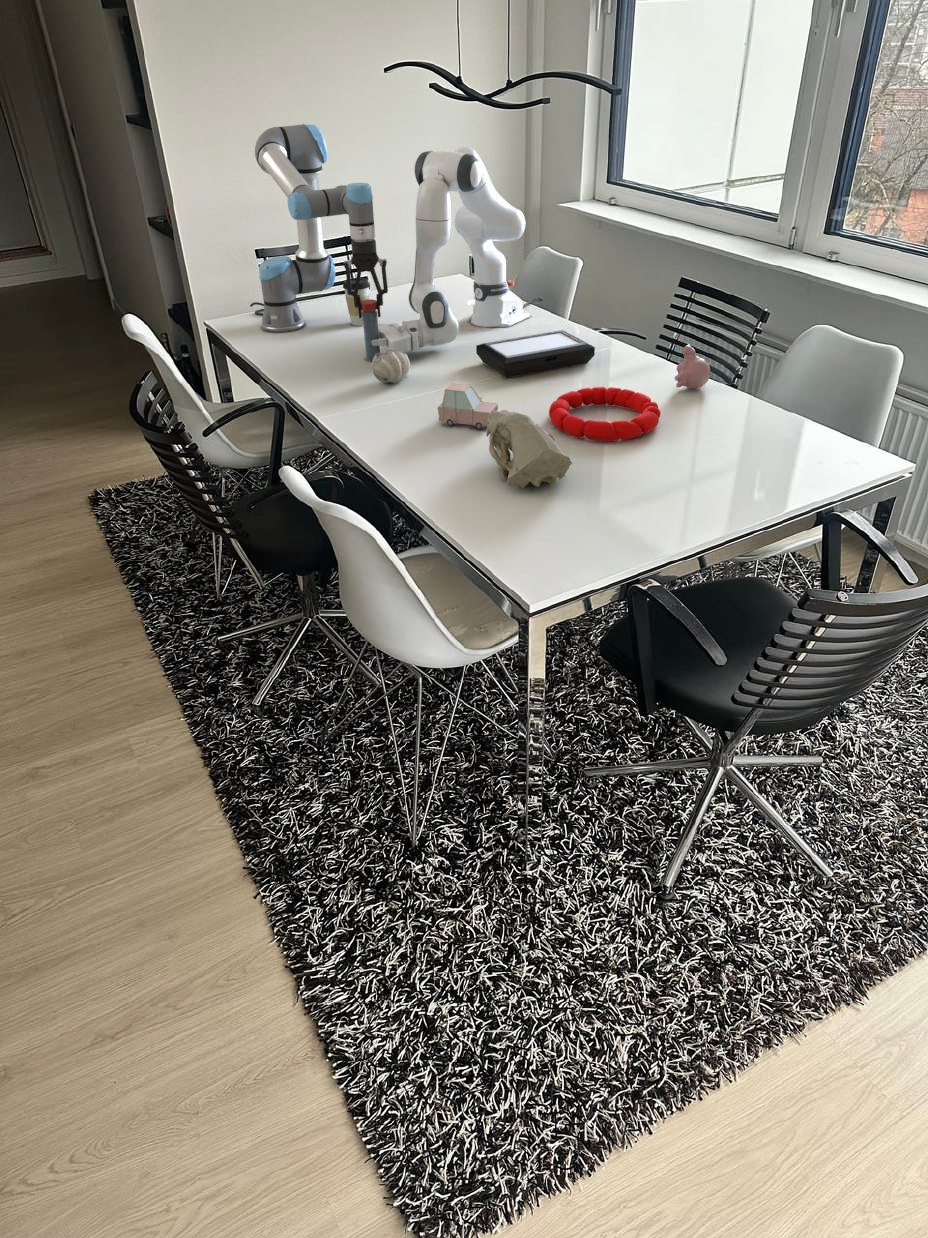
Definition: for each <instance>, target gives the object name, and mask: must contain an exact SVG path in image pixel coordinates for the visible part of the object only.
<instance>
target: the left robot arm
mask: <svg viewBox="0 0 928 1238" xmlns="http://www.w3.org/2000/svg"><path fill="white" fill-rule="evenodd" d="M328 156H329V155H328V147H327V143H326V140H325V137H324V134H323V132H322V130H321V129H320V128H319V127H318V126H317V125H316V124H304V123H302V124H295V125H285V126H272V127H270V128H268V129H266V130H264V131H263V132H261V134H260V135H259V136H258V138H257V140H256V143H255V146H254V158H255V160H256V163H257V164H258V166H259V167H260V169H261V170H262V171H263V172H264V173H266V174H268V175H270V176H271V178H272V180H274V182H275V183H276V185H277V186H278V187H279V188H280V190H281V191H282V193H283V194H284V195H285V196H286V197H287V208H288V212H289V214H290V217H291V218H292V219H293V220H296V227H297V239H298V248H297V250H296V251H295V254H294V255H295V259H292V258H291V257H290V256H288V255H281V256H275V257H271V258H268V259H265V260H263V261H262V262H261V263H260V265H259V266H258V270H259V271H258V273H259V280H260V287H261V292H262V299H263V302H257V301H255V302H252V303H250V305H249V307H250V308H251V307H253V306H256V305H257V306H262V307H263V308H260V309H256V310H255V311H254V315H255V316H262V319H261V326H262V330H264V331H265V332H271V333H286V332H293V331H296V330H297V331H298V330H300V329H302V328H304V326H305V319H304V317H303V314H302V312H301V310H300V307H299V306H298V305H299V304H298V303H297V295H303V294H310V293H316V292H323V291H327V290H330V289H331V288H332V287H333V286H334V283H335V280H336V265H335V261H334V259H333V257H332V256H331V255H329V251H328V250H327V249H326V248H325V247H324V237H323V236H324V235H323V224H322V223H323V222H322V218H325V217H332V216H334V217H335V216H341V215H348V223H349V234H350V239H351V242H350V244H351V245H350V246H351V255H352V256H351V259H348V260H344V262H343V267H344V269H345V277H346V279H345V280H347V293H348V295H352V296H353V297H354V305H355V307H358V310H359V318H362V312H361V304H360V302H361V301H360V295H358V288H359V282H360V278H362V277H361V276H362V273H365V272H368V273H369V272H370V275H371V277H372V280H373V283H374V286H375V289H376V291H377V293H376V297H375V298H376V301H377V310H376V311H377V318H381V314H382V313H381V306H382V307H383V306H384V296H383V295H385V294H388V292H389V288H388V279H387V269H386V268H387V263H388V261H387V258H381V257H379V256H378V253H377V241H376V239H375V238H376V228H375V217H374V216H375V215H374V201H373V200H374V196H373V192H372V186H371V185H370V184H369V183H368V182H351V183H349V184H347V185H342V184H340V185H337V186H335V187H333V188H325V189H320V184H319V183H320V182H319V176H320V174H321V173H322V171H323V164H325V163H327V161H328V158H329V157H328ZM377 264H379V266H380V267H381V276H382V277H381V278H382V287H383V288H382V287H381V284H380V280H379V278H378V275H377V272H376V269H375V268H376V266H377ZM352 265H353V266H354V267H355V269H357V271H356V277H355V278H356V282H355V288H354V291H353V290H352V289H351V278H352V277H351V276H352V275H351V268H352Z"/></svg>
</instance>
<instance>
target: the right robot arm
mask: <svg viewBox="0 0 928 1238" xmlns="http://www.w3.org/2000/svg"><path fill="white" fill-rule="evenodd" d="M414 177H415V180H416V182H417V185H418V190H417V195H416V204H415V238H416V239H415V245H416V248H415V260H414V278H413V282H412V286H411V287H410V289H409V293H408V303H409V307H410V308H411V309H412V311H414V312H415V313H417V314H419V318H418V319H412V320H405V321H403V322H402V323H401V325H400V324H398V323H395V322H394V323H393V322H392V323H391V322H389V323H380V324H379V323H378V330H379V339H372V340H371V344H372V345H373V346H377V345H378V346H380V347H387V349H388V350H396V351H401V352H402V353H405V352H412V353H417V352H419V350H420V348H424V347H426V346H431V347H435V346H440V345H447V344H449V343H452V342H453V341H455V340H456V339H457V336H458V334H459V322H458V319H457V317H455V316H454V313H453V312H452V310H451V308H450V304H449V301H448V298H447V296H446V295H445V294H444V293H443V292H441V291H440V290H439V289H437V286H436V285H435V279H434V277H435V263H436V261H435V260H436V255H437V253H438V252H439V250H440V249H442V248H444V247H445V245H446V244H447V243H448V242H449V239H450V236H451V235H450V234H451V229H452V228H451V227H452V205H451V195H450V194H451V192H457V194H458V196H459V198H460V200H461V202H462V204H463V205H462V206H460V207H459V208H458V209H457V210H456V212H455V216H454V227H455V231H456V232H457V234H458V235H459V236H461V238H463V240H464V241H465V243H466V244H467V245H468V248H469V250H470V253H471V255H472V260H473V271H474V281H473V285H472V286H473V294H474V296H473V299H472V300H468V301H467V305H471V304H472V313H471V320H470V323H471V324H472V325H475V326H477V327H483V328H485V327H486V328H495V327H496V328H497V327H508V328H509V327H511V326H513V325H515V324H517V323H519V322H521V321H524V320H526V319H528V318H529V317H530V313H529V312H527V311H525V310H524V308H525V307H526V306H528V305H530V304H532V303H534V302H535V301H537V300H539V301H541V302H543V299H542V298H541V297H535V298H533V299H532V300H530V301H528V302H526V303H524V304H523V301H522V299H521V298H520V297H518V296H517V295H516V294H515V293H514V292H512V291H511V290H510V287H511V288H512V287H514V285H515V281H514V280H511V279H508V280H507V261H506V257H505V256H504V254H503V253H502V252H501V251H499V249H497V248H496V246H495V245H494V244H493V242H494V241H495V242H512V241H518V240H519V239H520V238H521V237H522V236H523V235H524V232H525V229H526V218H525V215H524V214H523V211H521V210H520V209H518V208H517V207H514V206H512V205H511V203H508V202H507V200H505V199H504V198H503V197H502V196H501V195H500V194H499V192H498V191H497V190H496V189H495V187H494V185H493V182H492V181H491V178H490V176H489V173H488V171H487V169H486V166H485V164H484V162H483V160H482V158H481V157H480V156H479V154H478V153H477V151H476V150H475V149H474V148H472V147H469V146H462V147H459V148H457V149H456V150H454V151H450V150H448V151H445V150H444V151H442V150H439V151H434V150H427V151H423V152H421V153H420V154H419V155H418V157H417V158H416V160H415V163H414Z"/></svg>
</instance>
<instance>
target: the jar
mask: <svg viewBox="0 0 928 1238" xmlns="http://www.w3.org/2000/svg"><path fill="white" fill-rule="evenodd" d="M362 316H363V325H362V328H363V337H364V348H365V349H364V350H365V358H366V361H369V362H372V361H373V358H374V357H375V354H376V353H381V346H378V345H377V346H373V345H372V344H371V340H372V339H379V330H378V325H379V320H378V318H379V317H378V310H374V311H362Z"/></svg>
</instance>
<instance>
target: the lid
mask: <svg viewBox="0 0 928 1238" xmlns="http://www.w3.org/2000/svg"><path fill="white" fill-rule="evenodd" d="M360 304H361V310H362V311H374V310H376V311H378V310H377V299H370V298H369V300H363V301H361V302H360Z"/></svg>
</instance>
